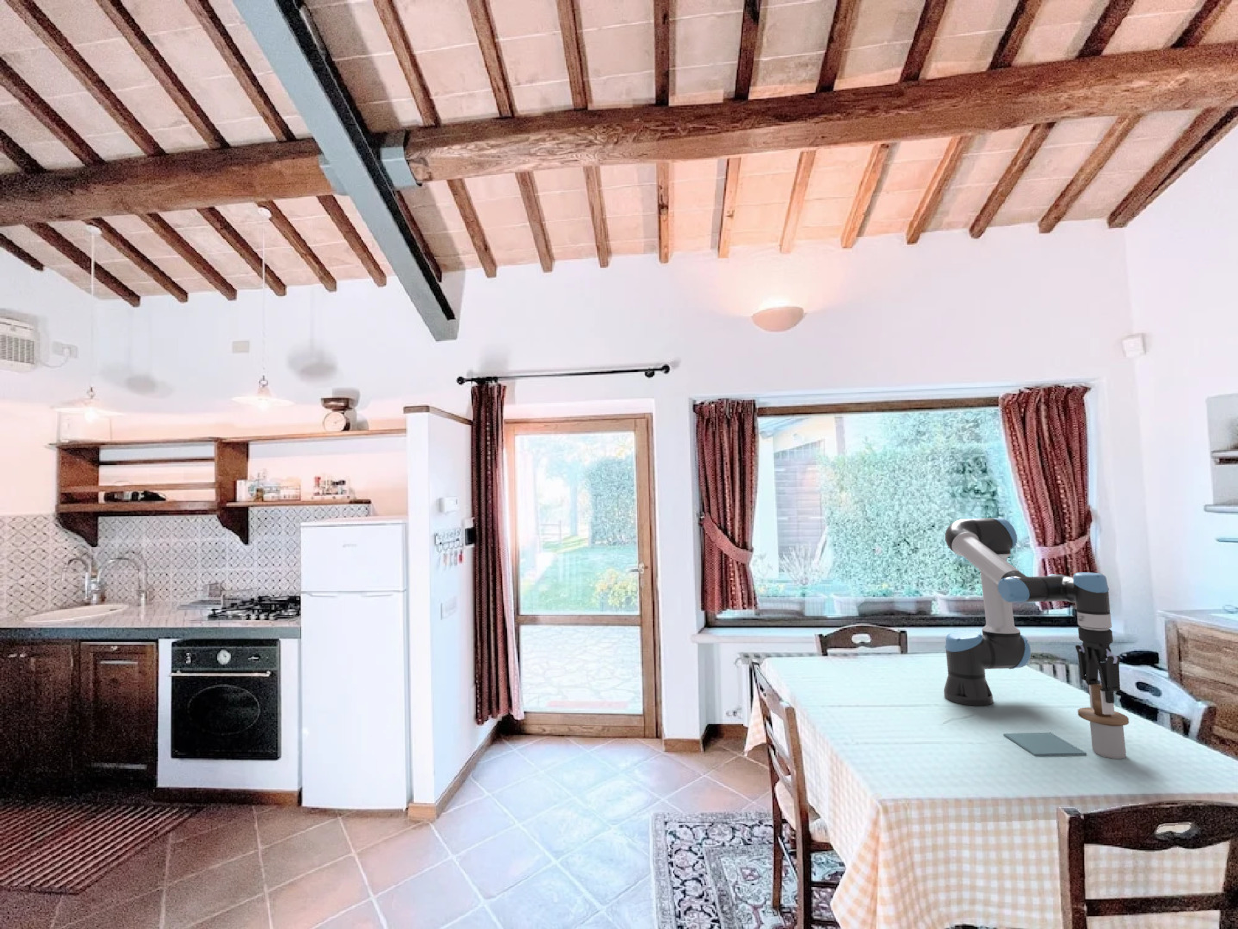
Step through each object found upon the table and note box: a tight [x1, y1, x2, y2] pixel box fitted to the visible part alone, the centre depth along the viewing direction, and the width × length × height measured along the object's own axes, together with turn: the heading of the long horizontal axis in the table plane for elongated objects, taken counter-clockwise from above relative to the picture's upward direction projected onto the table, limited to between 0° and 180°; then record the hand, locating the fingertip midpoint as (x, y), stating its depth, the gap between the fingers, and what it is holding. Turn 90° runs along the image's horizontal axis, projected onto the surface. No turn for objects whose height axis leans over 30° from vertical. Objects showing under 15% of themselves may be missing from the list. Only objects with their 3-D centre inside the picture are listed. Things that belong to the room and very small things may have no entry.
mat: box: [1003, 732, 1087, 757], centre depth 166 cm, size 14×14×1 cm
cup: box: [1089, 721, 1127, 760], centre depth 160 cm, size 7×10×9 cm
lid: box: [1077, 683, 1130, 727], centre depth 161 cm, size 11×11×9 cm
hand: (1102, 711), depth 161 cm, fingers closed on lid, 3 cm apart
